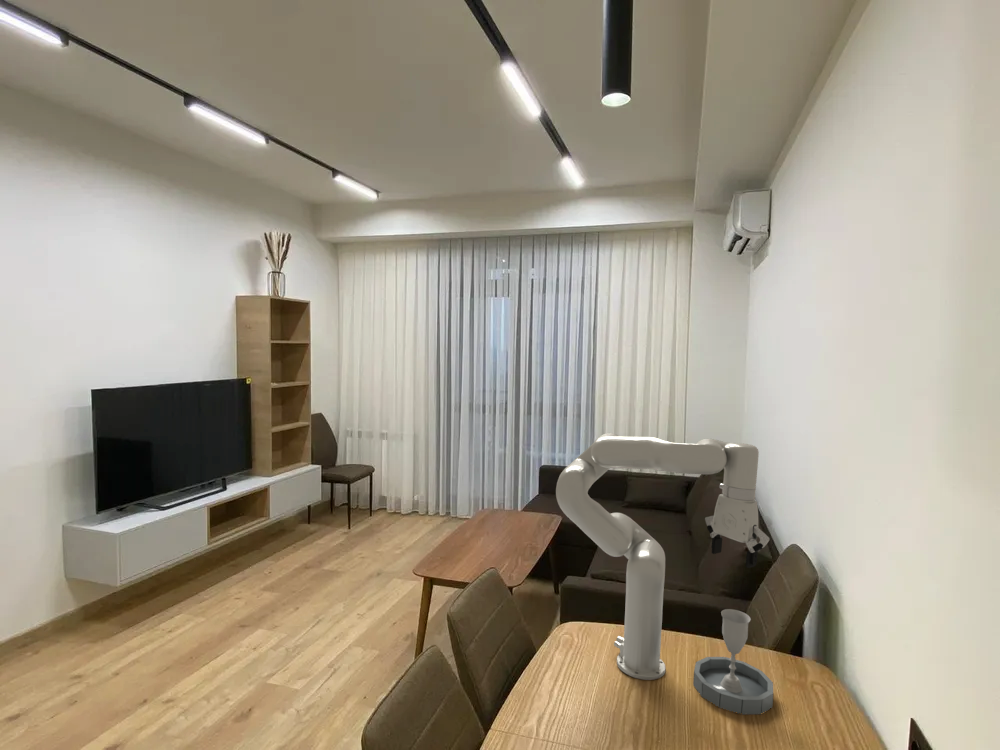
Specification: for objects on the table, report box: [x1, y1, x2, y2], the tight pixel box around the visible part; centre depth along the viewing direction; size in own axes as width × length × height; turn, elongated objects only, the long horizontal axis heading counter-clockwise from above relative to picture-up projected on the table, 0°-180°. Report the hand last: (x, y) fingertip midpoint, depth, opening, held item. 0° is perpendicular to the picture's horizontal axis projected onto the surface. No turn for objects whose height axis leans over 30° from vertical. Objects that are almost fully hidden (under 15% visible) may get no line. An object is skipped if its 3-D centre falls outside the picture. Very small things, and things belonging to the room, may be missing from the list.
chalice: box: [720, 608, 752, 693], centre depth 136 cm, size 7×7×18 cm
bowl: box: [692, 656, 774, 715], centre depth 136 cm, size 18×18×4 cm
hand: (732, 559), depth 137 cm, fingers open, 9 cm apart
